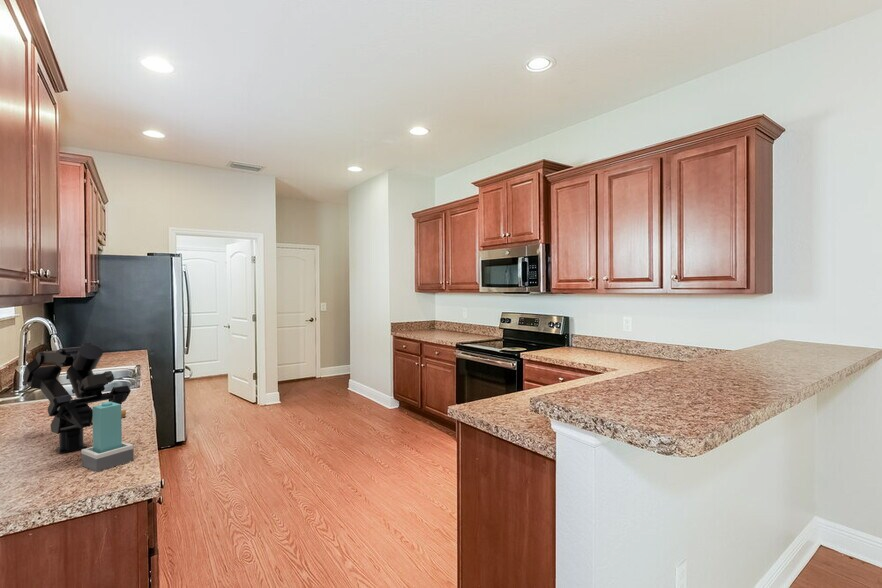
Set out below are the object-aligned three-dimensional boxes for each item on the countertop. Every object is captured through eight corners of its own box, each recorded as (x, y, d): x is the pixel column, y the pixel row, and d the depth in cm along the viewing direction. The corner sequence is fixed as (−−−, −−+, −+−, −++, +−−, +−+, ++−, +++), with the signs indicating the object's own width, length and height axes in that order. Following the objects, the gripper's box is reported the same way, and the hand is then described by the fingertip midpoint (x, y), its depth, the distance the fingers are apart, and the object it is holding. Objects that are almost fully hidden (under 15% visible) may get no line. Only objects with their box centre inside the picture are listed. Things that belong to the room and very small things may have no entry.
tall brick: (93, 452, 121) (92, 403, 121) (113, 446, 126) (113, 399, 126) (101, 455, 119) (100, 405, 119) (121, 449, 123) (121, 401, 123)
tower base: (81, 465, 121) (81, 449, 121) (118, 454, 128) (118, 439, 128) (96, 472, 116) (96, 455, 116) (133, 460, 124) (133, 445, 124)
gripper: (51, 368, 119) (69, 414, 113) (127, 359, 135) (146, 398, 129) (40, 393, 123) (56, 438, 117) (115, 381, 139) (133, 420, 133)
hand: (100, 422), depth 124 cm, fingers open, 9 cm apart
